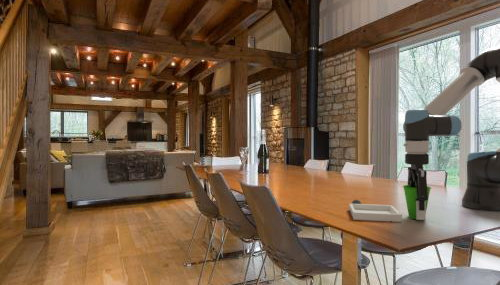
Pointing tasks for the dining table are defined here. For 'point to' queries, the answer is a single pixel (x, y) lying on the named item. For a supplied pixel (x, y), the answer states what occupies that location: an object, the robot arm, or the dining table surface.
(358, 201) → the ball
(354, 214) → the tray
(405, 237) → the dining table surface
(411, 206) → the cup
